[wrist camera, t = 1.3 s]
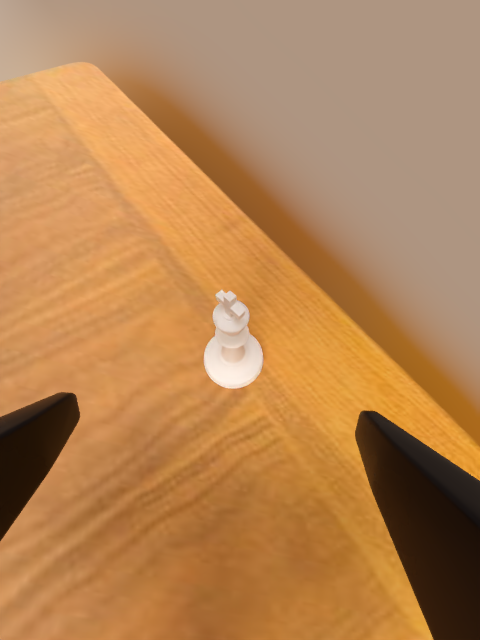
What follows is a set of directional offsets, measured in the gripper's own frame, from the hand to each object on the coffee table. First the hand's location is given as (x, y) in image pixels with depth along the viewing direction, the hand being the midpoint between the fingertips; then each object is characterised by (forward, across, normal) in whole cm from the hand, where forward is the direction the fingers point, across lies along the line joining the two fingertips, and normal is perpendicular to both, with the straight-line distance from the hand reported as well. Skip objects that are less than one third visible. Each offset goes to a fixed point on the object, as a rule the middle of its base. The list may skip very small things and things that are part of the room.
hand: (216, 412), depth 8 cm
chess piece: (+12, 0, +5) cm, 13 cm away
